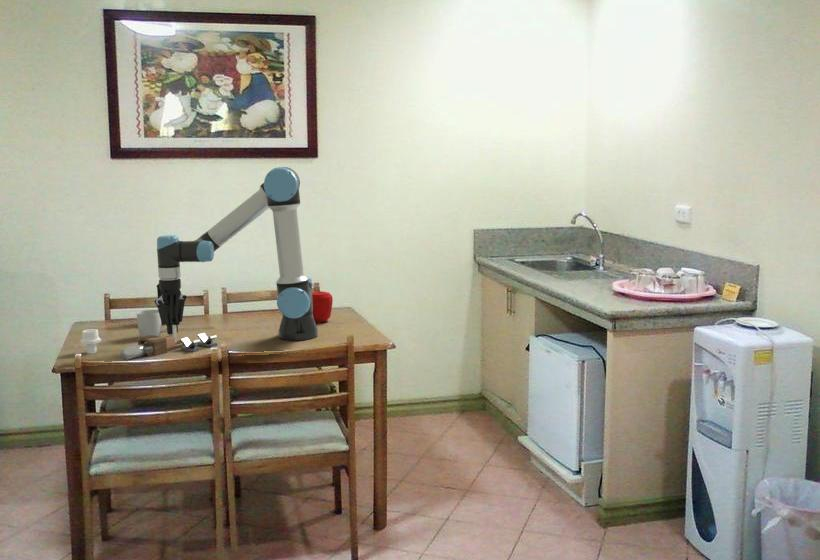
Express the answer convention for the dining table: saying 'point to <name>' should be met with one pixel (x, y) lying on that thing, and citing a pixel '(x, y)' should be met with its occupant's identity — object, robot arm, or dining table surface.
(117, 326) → the dining table surface
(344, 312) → the dining table surface
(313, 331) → the robot arm
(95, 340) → the pipe fitting
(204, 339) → the v block
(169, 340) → the brown wooden block
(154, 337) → the beam
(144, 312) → the mug
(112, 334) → the dining table surface
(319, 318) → the red bell pepper
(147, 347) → the grey elongated lump
